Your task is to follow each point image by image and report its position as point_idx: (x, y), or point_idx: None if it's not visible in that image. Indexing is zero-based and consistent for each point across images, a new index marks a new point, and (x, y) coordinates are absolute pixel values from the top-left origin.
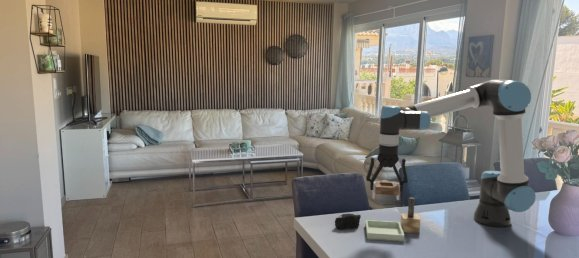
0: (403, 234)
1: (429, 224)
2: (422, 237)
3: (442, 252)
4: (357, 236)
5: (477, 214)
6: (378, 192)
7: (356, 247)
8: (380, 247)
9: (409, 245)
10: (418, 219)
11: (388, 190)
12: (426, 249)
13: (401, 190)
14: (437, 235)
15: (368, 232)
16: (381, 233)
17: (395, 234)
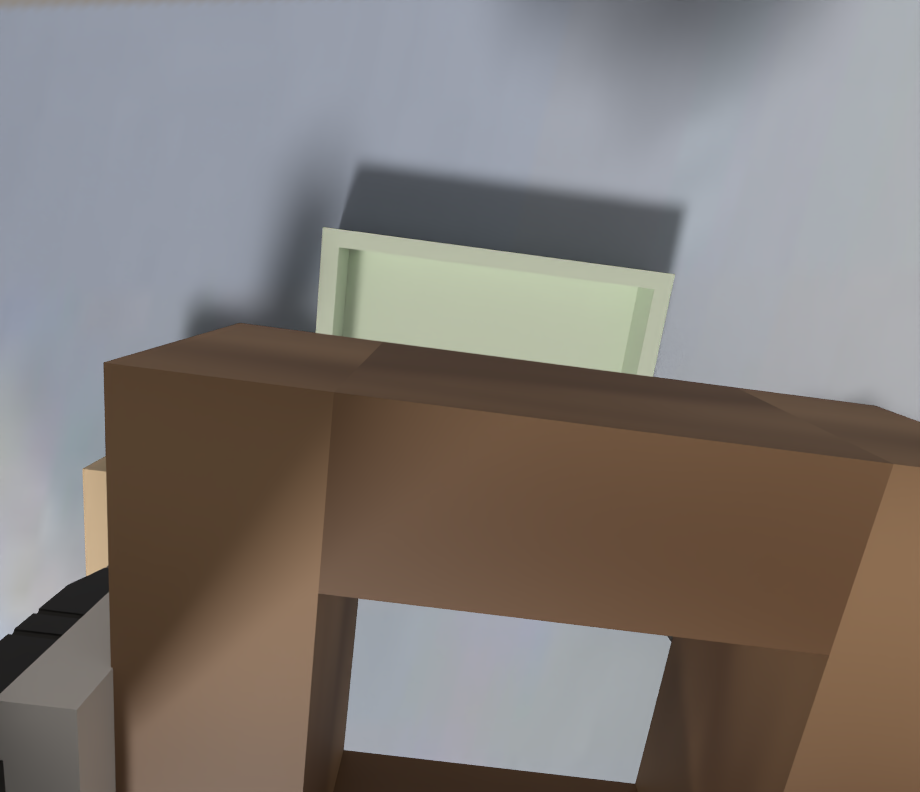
0: (327, 247)
1: (46, 601)
2: (155, 335)
3: (36, 6)
4: (719, 339)
5: None
6: (833, 409)
7: (796, 96)
8: (577, 103)
9: (304, 157)
10: (103, 470)
11: (549, 391)
12: (169, 71)
13: (92, 587)
14: (17, 381)
15: (662, 287)
16: (540, 266)
17: (406, 244)
